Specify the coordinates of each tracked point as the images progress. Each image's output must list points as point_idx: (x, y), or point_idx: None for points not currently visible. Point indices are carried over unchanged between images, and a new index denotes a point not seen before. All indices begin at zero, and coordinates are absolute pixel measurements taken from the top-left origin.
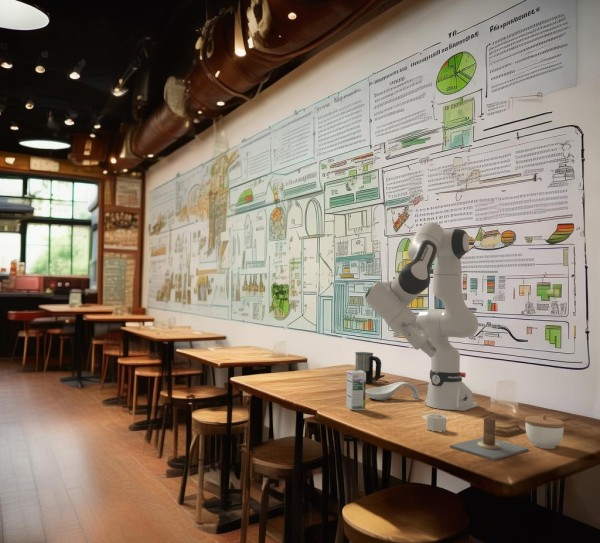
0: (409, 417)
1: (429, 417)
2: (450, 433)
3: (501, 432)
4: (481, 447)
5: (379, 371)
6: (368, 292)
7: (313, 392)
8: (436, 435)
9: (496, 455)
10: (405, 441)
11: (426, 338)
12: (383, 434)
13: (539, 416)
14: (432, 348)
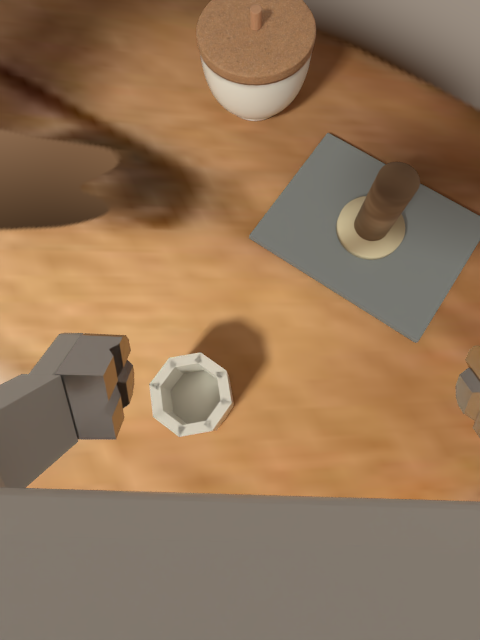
0: None
1: (219, 421)
2: (227, 345)
3: (141, 190)
4: (395, 249)
5: None
6: None
7: None
8: (279, 392)
9: (456, 214)
10: (421, 499)
11: (453, 535)
12: None
13: (210, 34)
14: (110, 393)
